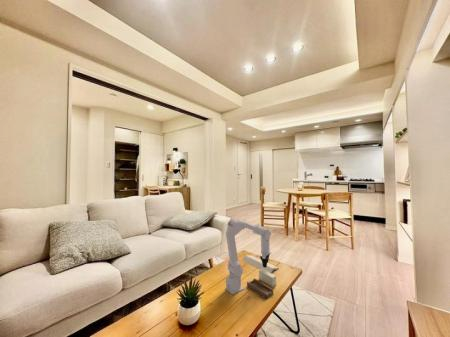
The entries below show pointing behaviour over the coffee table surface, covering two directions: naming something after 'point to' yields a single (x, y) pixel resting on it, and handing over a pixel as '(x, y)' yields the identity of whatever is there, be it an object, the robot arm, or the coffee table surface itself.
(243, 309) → the coffee table surface
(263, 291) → the rack
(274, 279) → the light grey block
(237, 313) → the coffee table surface
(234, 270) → the robot arm
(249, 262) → the crown molding
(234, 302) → the coffee table surface
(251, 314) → the coffee table surface
